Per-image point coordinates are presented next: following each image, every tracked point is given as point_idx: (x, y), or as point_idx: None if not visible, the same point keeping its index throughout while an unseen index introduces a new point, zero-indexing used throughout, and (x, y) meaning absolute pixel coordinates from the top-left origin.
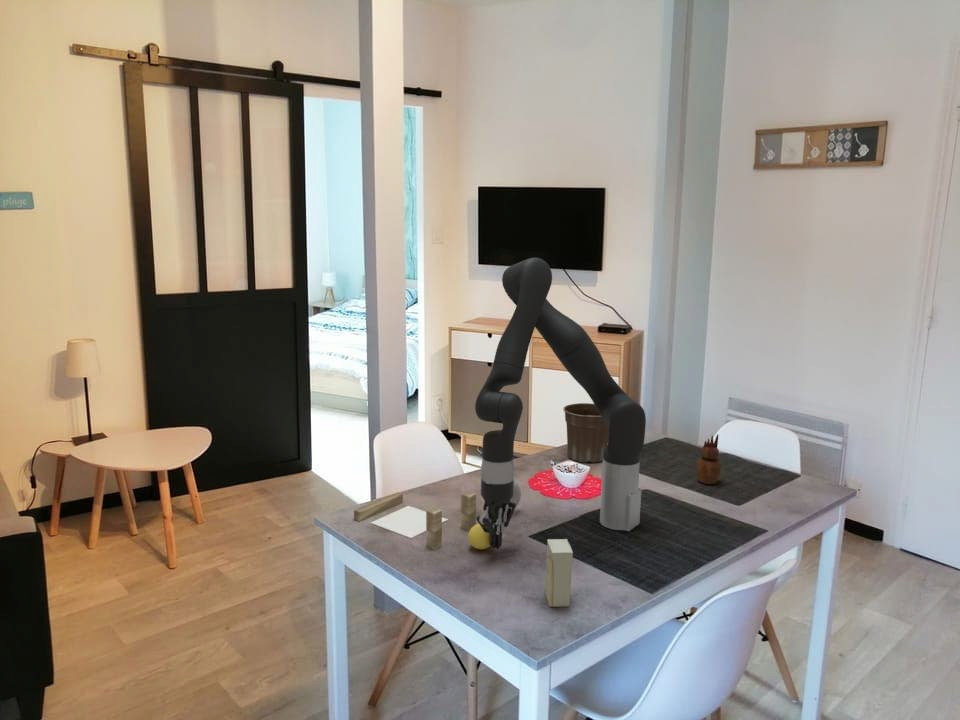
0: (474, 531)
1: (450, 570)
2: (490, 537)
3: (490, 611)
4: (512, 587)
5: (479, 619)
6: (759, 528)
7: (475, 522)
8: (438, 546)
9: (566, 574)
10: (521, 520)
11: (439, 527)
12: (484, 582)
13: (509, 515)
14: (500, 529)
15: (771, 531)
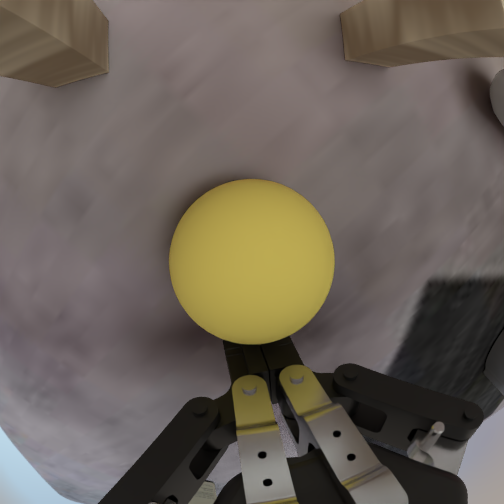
0: (191, 291)
1: (11, 293)
2: (229, 368)
3: (43, 450)
4: (131, 445)
5: (18, 446)
6: (495, 409)
7: (404, 63)
8: (81, 78)
9: None
10: (494, 184)
11: (40, 53)
12: (77, 403)
13: (382, 440)
14: (282, 419)
15: (490, 416)
